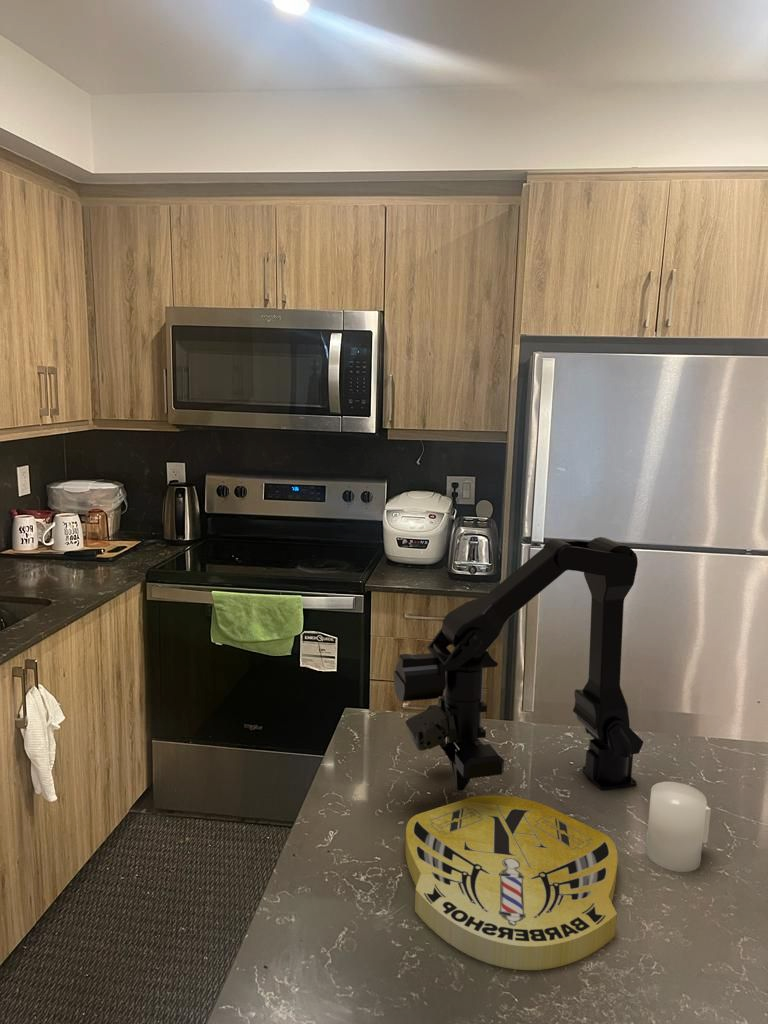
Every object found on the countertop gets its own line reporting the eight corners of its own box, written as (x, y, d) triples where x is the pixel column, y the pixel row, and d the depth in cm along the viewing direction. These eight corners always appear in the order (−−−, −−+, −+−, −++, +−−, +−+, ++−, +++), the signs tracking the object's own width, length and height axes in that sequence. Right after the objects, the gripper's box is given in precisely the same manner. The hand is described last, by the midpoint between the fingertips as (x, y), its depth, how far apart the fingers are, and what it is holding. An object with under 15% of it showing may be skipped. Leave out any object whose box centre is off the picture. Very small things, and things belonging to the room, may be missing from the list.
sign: (384, 928, 84) (415, 786, 113) (384, 953, 84) (414, 806, 114) (644, 962, 80) (605, 806, 109) (641, 988, 80) (604, 826, 109)
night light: (685, 836, 107) (691, 778, 105) (718, 867, 100) (724, 805, 99) (635, 843, 105) (640, 784, 103) (665, 875, 98) (671, 813, 97)
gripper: (395, 675, 119) (393, 765, 122) (432, 727, 101) (429, 832, 104) (460, 669, 122) (457, 757, 125) (508, 719, 104) (503, 821, 107)
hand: (459, 789), depth 115 cm, fingers closed
